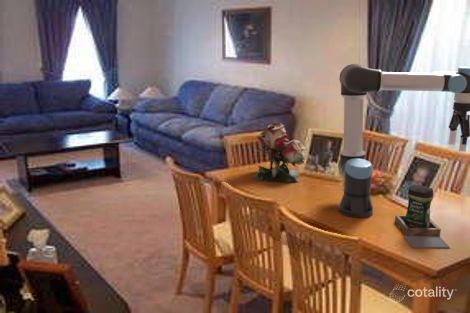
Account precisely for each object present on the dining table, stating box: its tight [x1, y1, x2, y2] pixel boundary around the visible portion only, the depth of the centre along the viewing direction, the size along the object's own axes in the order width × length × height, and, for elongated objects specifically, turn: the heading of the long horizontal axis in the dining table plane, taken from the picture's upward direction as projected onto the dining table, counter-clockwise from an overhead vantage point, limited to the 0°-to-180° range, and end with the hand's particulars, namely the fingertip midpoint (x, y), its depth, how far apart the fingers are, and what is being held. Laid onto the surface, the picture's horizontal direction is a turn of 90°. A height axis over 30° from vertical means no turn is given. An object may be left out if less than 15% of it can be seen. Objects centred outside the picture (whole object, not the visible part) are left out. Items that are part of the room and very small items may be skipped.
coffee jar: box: [405, 184, 434, 228], centre depth 206 cm, size 10×8×19 cm
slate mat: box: [403, 235, 451, 249], centre depth 195 cm, size 14×10×1 cm
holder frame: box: [394, 214, 441, 237], centre depth 208 cm, size 13×15×3 cm
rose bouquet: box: [253, 122, 308, 183], centre depth 277 cm, size 26×29×30 cm
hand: (456, 147), depth 231 cm, fingers open, 13 cm apart
